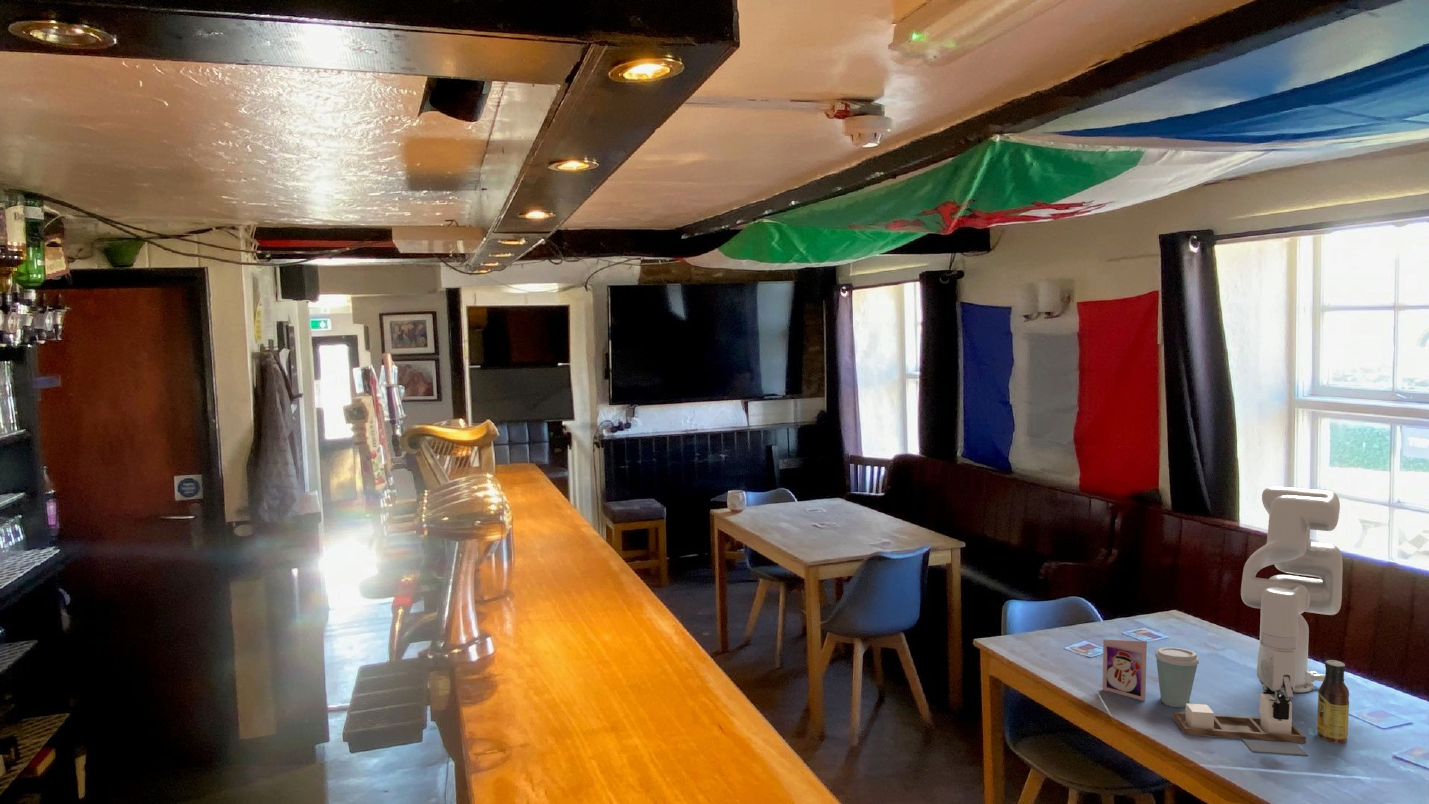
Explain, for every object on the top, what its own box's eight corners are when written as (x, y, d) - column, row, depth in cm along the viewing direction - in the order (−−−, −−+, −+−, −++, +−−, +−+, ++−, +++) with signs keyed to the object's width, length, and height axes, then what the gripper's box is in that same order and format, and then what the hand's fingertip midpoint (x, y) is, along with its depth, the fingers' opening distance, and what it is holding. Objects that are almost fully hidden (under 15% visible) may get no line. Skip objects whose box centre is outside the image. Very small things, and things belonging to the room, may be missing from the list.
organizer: (1288, 727, 221) (1288, 719, 221) (1305, 744, 212) (1306, 736, 211) (1172, 719, 226) (1173, 711, 226) (1185, 736, 217) (1185, 728, 217)
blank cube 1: (1206, 723, 223) (1207, 704, 222) (1213, 732, 218) (1214, 713, 217) (1185, 722, 224) (1185, 703, 223) (1192, 730, 219) (1192, 711, 218)
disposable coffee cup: (1144, 699, 239) (1145, 646, 237) (1173, 693, 242) (1174, 641, 241) (1177, 715, 229) (1178, 660, 228) (1206, 708, 233) (1208, 654, 231)
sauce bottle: (1317, 731, 218) (1320, 655, 217) (1348, 738, 214) (1351, 660, 213) (1315, 741, 213) (1318, 663, 212) (1346, 748, 209) (1349, 669, 208)
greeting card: (1101, 691, 244) (1102, 640, 243) (1111, 684, 249) (1112, 633, 248) (1144, 703, 236) (1145, 650, 235) (1153, 695, 241) (1154, 643, 240)
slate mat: (1296, 746, 211) (1296, 743, 211) (1307, 758, 205) (1307, 754, 205) (1242, 742, 213) (1242, 739, 213) (1252, 754, 207) (1252, 750, 207)
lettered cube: (1282, 714, 210) (1282, 694, 210) (1291, 724, 205) (1292, 703, 205) (1259, 713, 211) (1260, 693, 211) (1268, 722, 206) (1269, 701, 206)
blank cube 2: (1282, 728, 219) (1282, 709, 219) (1291, 737, 214) (1291, 718, 214) (1260, 727, 220) (1261, 708, 220) (1268, 736, 215) (1269, 716, 215)
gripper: (1246, 627, 216) (1244, 698, 217) (1276, 651, 199) (1273, 728, 201) (1279, 629, 214) (1277, 700, 216) (1312, 653, 198) (1309, 730, 199)
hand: (1275, 712), depth 208 cm, fingers closed on lettered cube, 5 cm apart
